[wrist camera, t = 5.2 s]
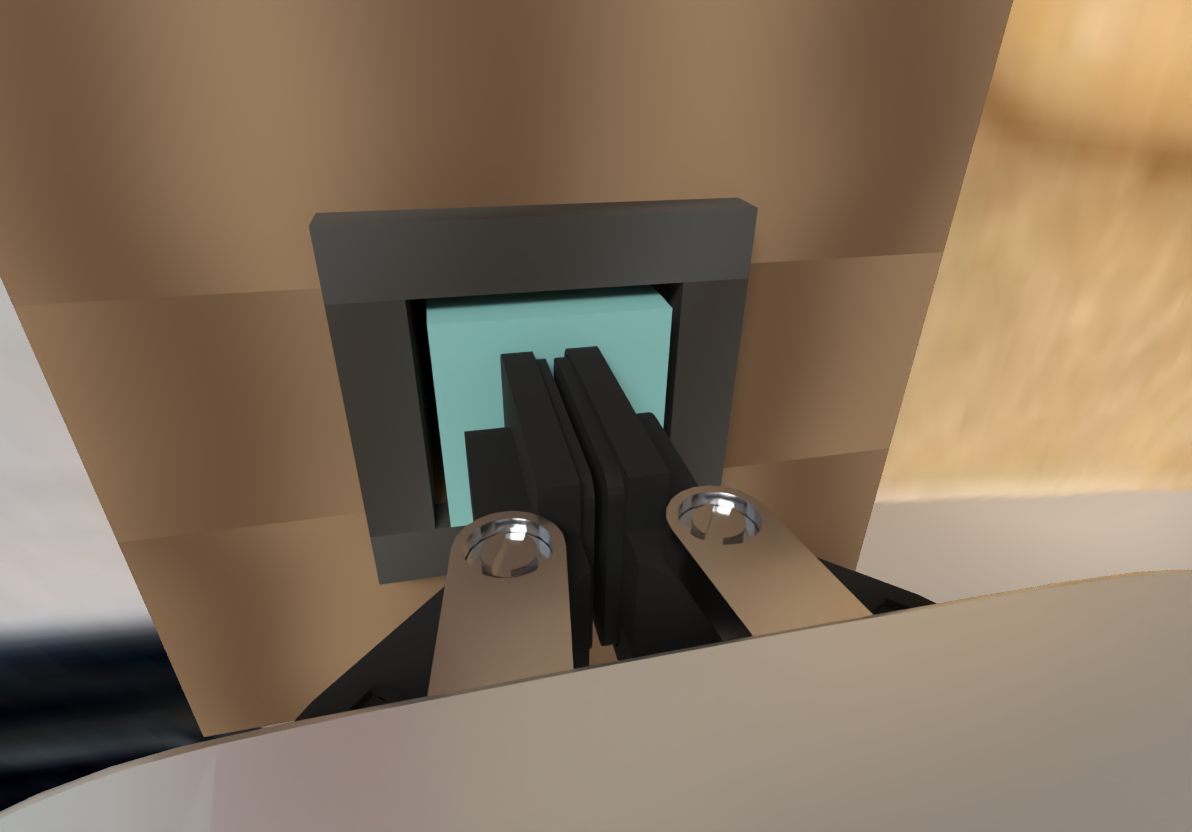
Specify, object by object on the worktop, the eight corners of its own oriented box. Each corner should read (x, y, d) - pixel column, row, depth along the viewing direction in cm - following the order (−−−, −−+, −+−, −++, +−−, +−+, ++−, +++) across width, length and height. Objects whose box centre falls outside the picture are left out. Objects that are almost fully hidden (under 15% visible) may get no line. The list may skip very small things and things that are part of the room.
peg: (564, 187, 19) (672, 308, 11) (565, 317, 21) (657, 500, 13) (422, 192, 19) (427, 325, 10) (437, 326, 21) (451, 526, 12)
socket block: (780, -55, 18) (1087, -120, 10) (717, 448, 26) (856, 645, 18) (112, -84, 15) (-275, -221, 7) (274, 500, 23) (194, 769, 15)
